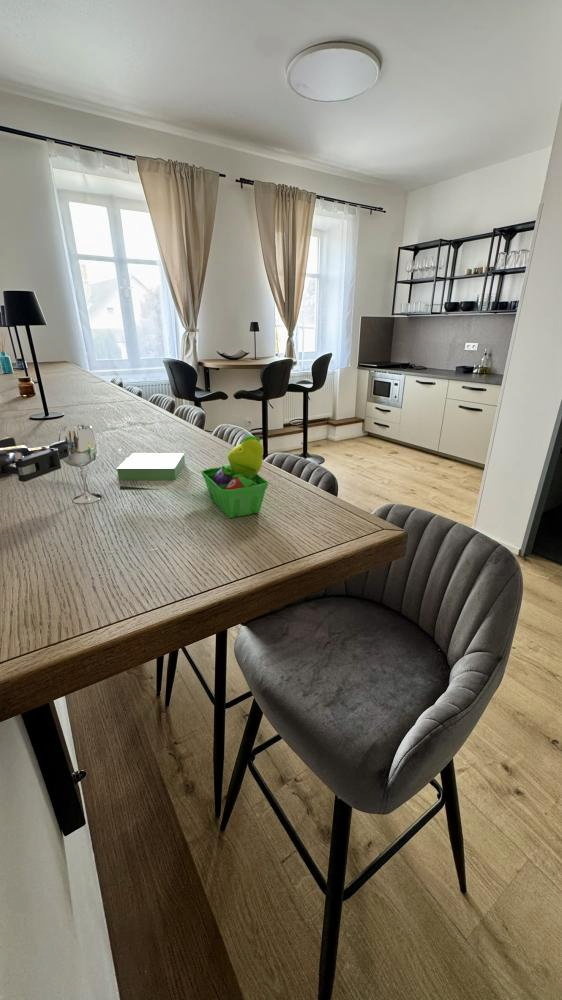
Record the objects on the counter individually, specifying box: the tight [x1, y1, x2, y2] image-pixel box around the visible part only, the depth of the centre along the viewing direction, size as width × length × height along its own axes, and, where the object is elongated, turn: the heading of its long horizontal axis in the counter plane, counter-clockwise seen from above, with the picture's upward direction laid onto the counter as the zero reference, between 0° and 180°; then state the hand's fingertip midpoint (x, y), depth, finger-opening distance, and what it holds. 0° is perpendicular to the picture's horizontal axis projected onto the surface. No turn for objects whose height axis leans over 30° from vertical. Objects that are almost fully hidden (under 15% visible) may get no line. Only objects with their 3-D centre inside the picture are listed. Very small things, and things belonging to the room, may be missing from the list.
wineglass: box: [57, 424, 103, 505], centre depth 67 cm, size 6×6×12 cm
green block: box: [116, 452, 186, 491], centre depth 77 cm, size 10×10×4 cm
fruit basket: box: [200, 435, 269, 519], centre depth 65 cm, size 11×9×11 cm
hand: (39, 446), depth 57 cm, fingers open, 8 cm apart
